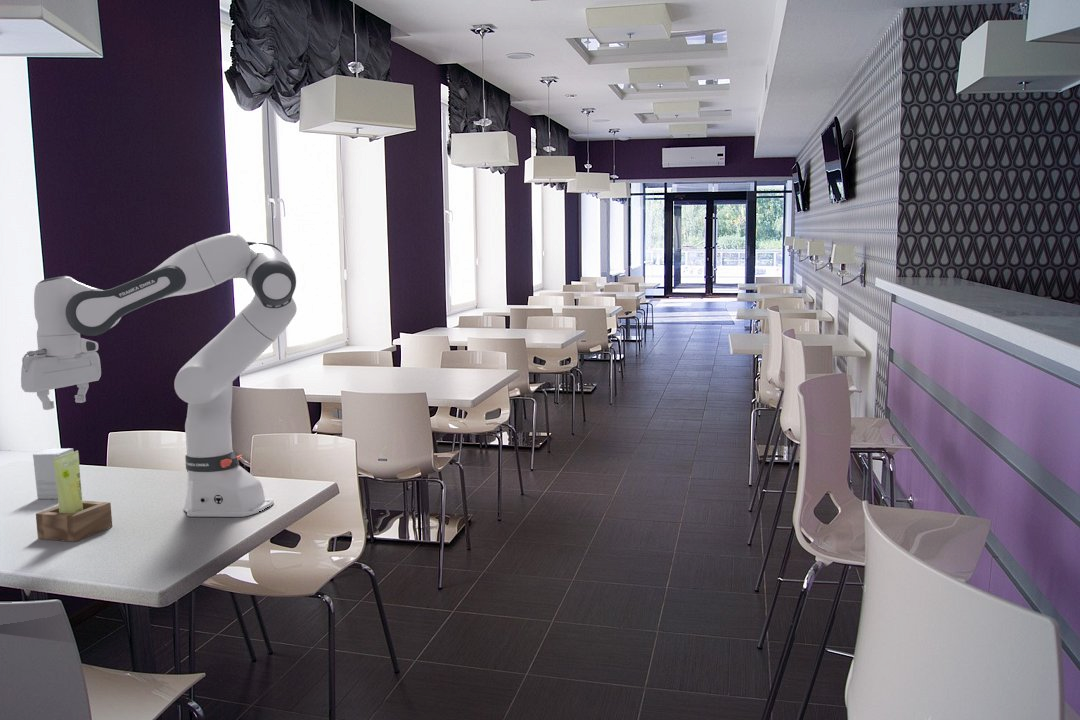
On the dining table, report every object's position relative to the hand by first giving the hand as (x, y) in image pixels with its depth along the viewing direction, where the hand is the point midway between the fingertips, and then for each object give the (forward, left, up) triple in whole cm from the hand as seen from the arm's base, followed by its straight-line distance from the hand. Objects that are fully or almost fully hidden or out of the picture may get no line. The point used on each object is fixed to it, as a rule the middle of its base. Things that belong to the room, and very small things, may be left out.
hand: (65, 405), depth 203 cm
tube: (0, +2, -31) cm, 31 cm away
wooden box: (0, 0, -31) cm, 31 cm away
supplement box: (+31, -26, -31) cm, 51 cm away
